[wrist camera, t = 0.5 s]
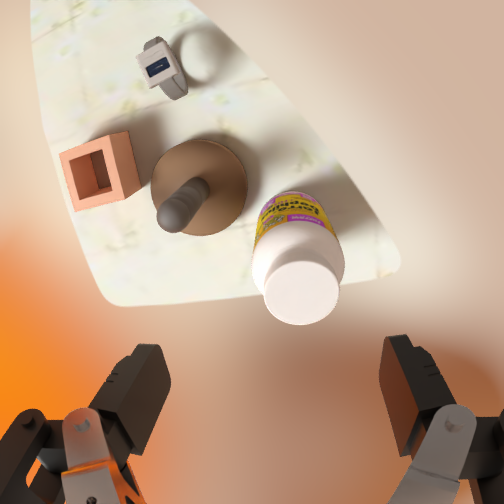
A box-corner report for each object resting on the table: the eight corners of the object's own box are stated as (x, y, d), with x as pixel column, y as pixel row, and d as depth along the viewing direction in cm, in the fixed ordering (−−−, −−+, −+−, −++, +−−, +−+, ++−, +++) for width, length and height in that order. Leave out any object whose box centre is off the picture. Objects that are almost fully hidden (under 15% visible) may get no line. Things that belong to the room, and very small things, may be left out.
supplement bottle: (321, 184, 28) (355, 237, 17) (328, 248, 31) (357, 329, 20) (251, 195, 29) (237, 254, 18) (263, 257, 32) (257, 342, 20)
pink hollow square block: (80, 147, 28) (58, 153, 24) (128, 130, 27) (108, 134, 23) (94, 200, 30) (75, 212, 27) (141, 188, 30) (125, 199, 26)
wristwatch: (150, 51, 24) (128, 42, 19) (175, 38, 23) (158, 25, 19) (174, 105, 26) (155, 104, 21) (200, 92, 25) (186, 88, 21)
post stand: (146, 151, 28) (94, 171, 19) (238, 130, 27) (221, 139, 18) (168, 236, 32) (131, 286, 23) (255, 222, 30) (247, 273, 21)
